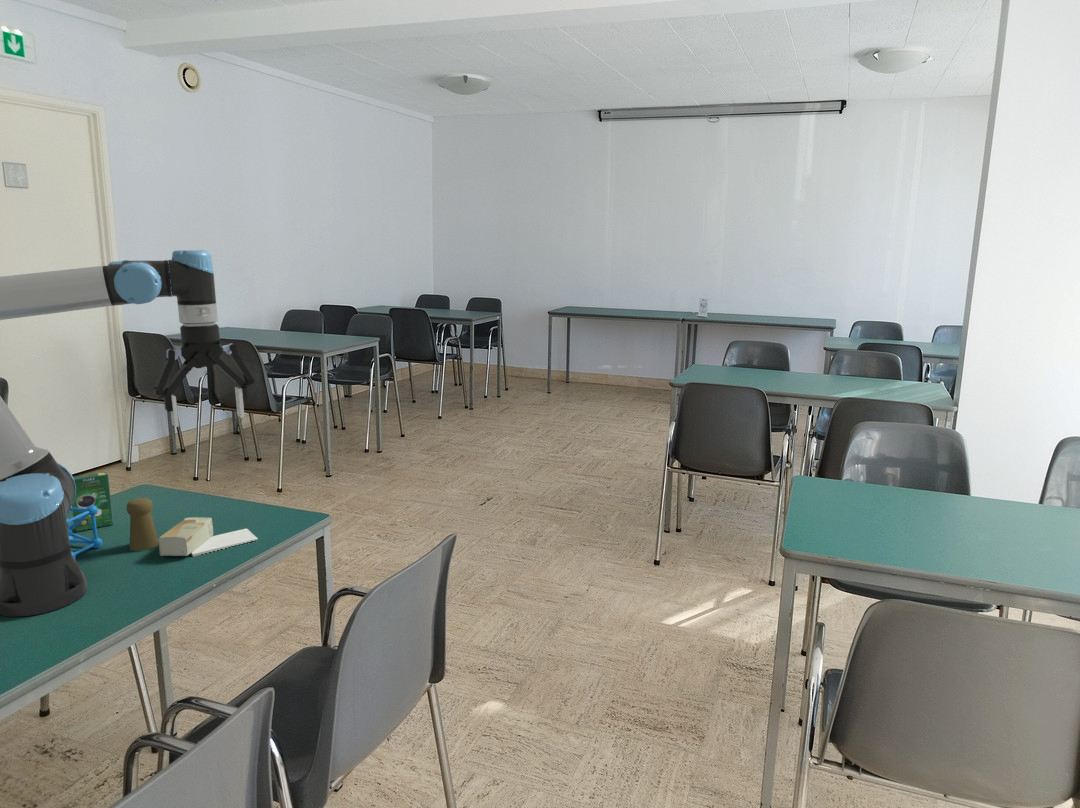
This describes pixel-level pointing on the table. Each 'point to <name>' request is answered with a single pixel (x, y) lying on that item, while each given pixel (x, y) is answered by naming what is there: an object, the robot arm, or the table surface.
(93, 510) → the molecular structure
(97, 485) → the coffee box
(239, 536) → the mat
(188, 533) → the skincare box
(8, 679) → the table surface
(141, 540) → the cork
